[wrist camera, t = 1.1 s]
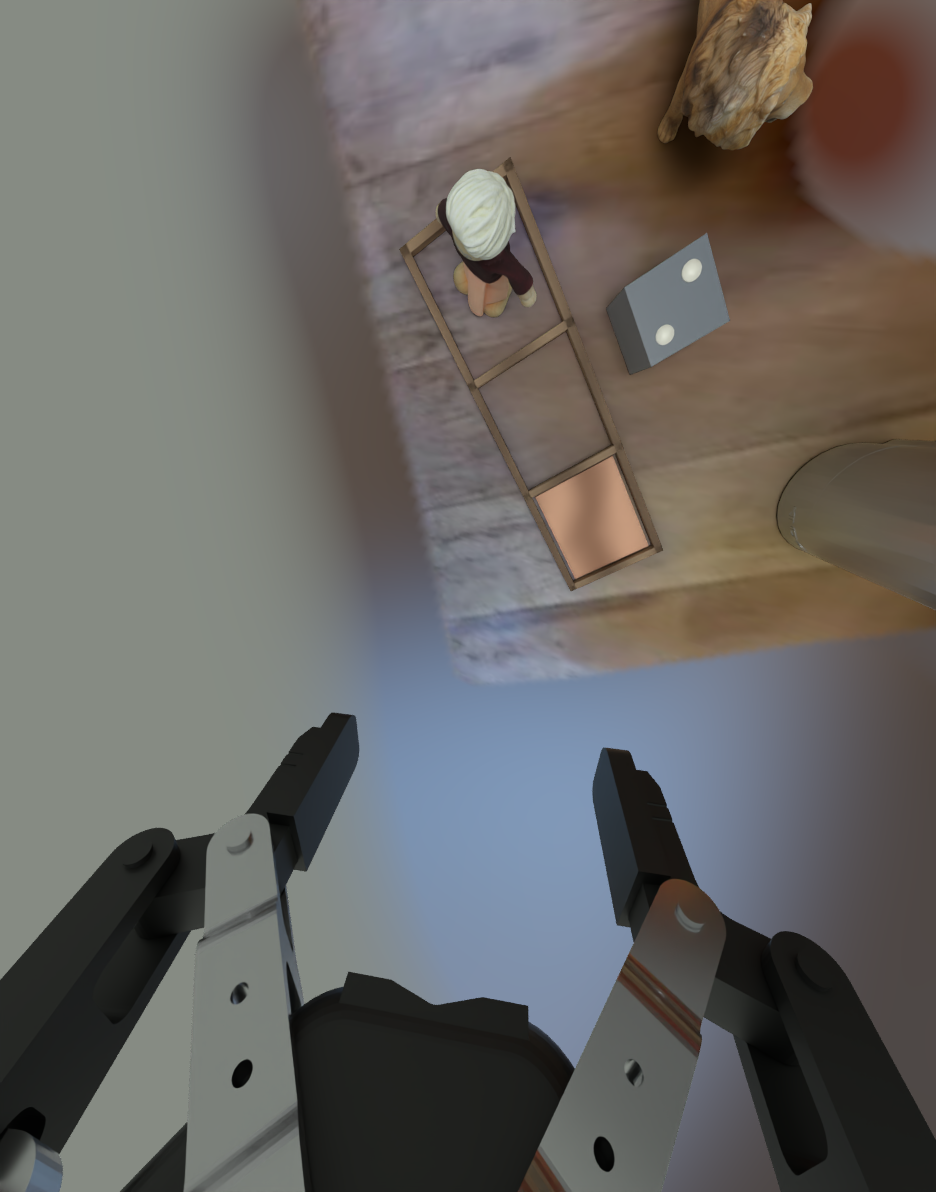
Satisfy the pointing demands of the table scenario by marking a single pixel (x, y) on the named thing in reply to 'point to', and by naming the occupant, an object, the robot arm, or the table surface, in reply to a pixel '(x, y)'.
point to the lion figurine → (741, 71)
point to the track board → (590, 498)
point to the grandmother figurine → (485, 242)
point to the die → (669, 307)
